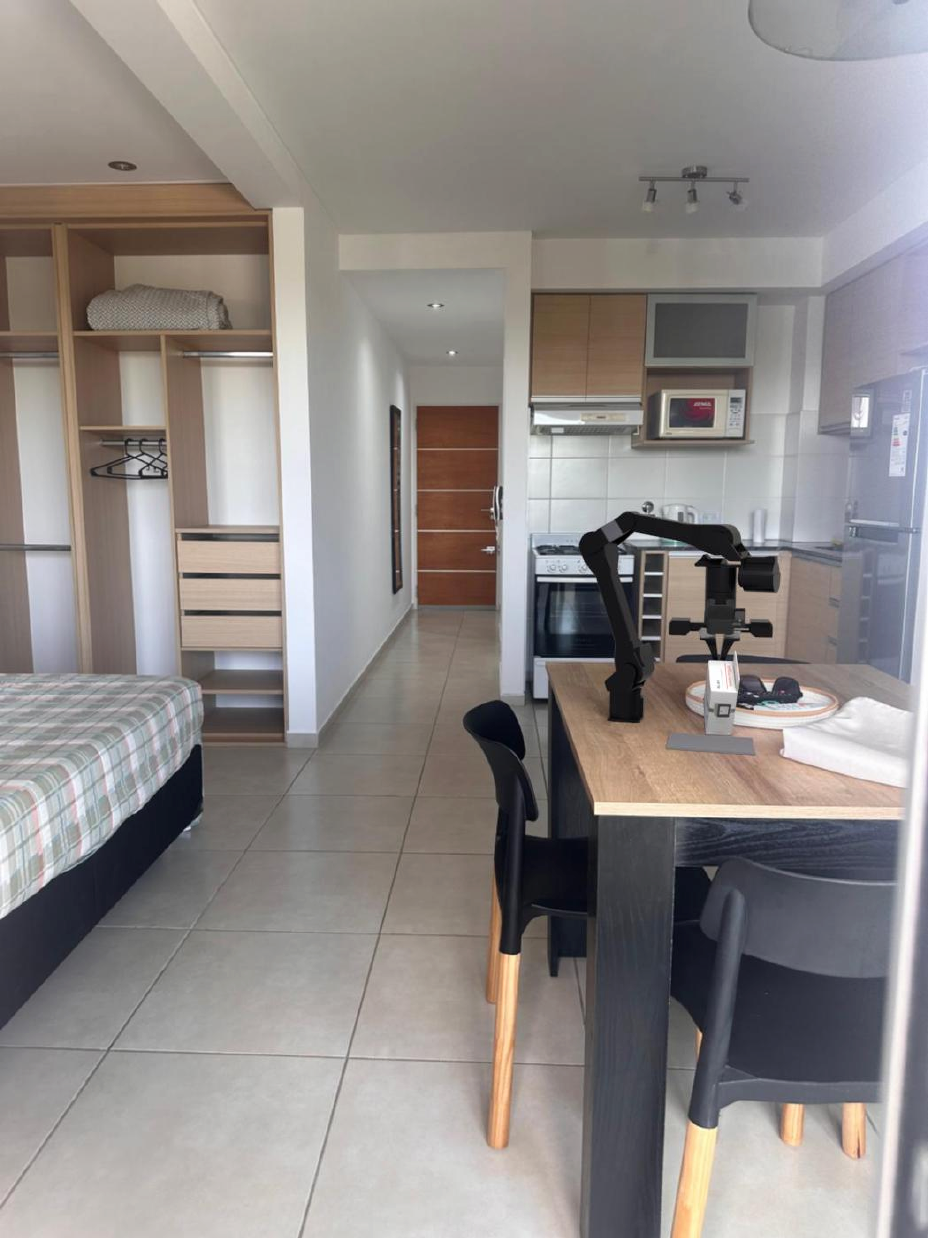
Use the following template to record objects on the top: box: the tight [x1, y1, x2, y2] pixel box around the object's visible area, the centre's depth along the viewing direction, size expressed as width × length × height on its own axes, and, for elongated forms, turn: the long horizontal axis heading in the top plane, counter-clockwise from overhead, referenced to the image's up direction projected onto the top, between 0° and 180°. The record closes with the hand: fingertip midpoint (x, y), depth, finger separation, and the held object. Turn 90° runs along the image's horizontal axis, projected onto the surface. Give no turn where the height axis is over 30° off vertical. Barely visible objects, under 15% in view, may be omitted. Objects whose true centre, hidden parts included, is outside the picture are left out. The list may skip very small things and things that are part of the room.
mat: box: [666, 731, 756, 756], centre depth 152 cm, size 15×10×1 cm, turn 73°
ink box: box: [703, 650, 741, 736], centre depth 157 cm, size 9×5×15 cm
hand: (718, 671), depth 159 cm, fingers closed
